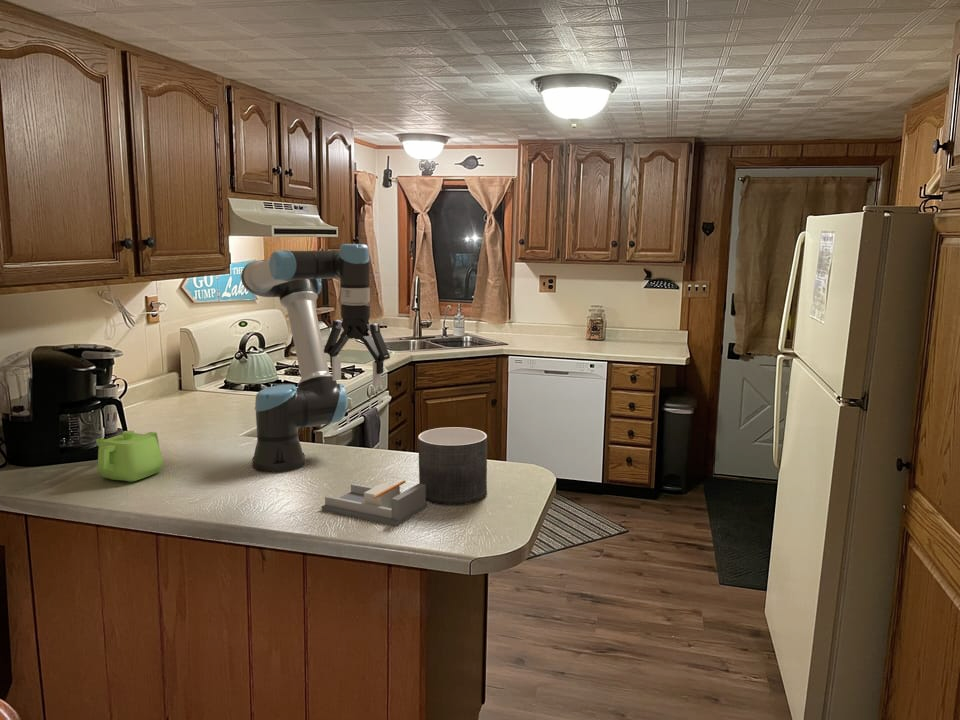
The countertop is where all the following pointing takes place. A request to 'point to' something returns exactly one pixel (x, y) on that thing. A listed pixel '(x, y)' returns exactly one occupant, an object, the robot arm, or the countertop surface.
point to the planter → (453, 465)
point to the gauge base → (394, 515)
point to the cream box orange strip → (382, 494)
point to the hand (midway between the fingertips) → (356, 382)
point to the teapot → (129, 456)
